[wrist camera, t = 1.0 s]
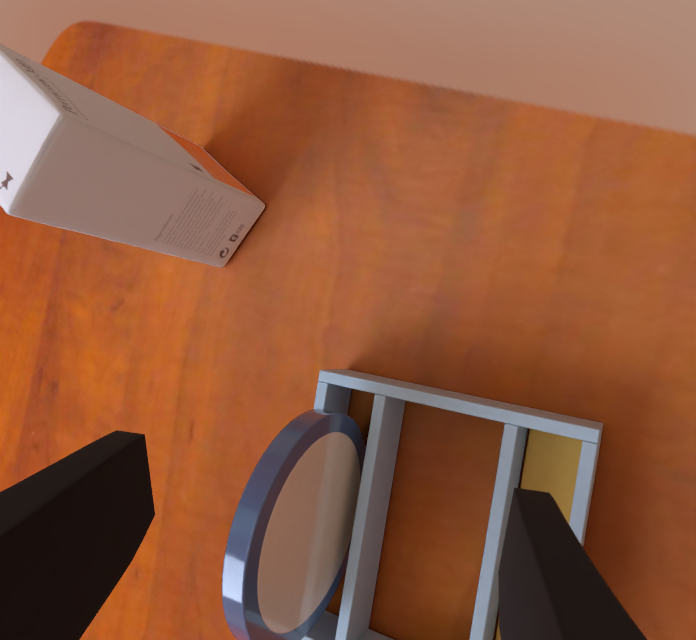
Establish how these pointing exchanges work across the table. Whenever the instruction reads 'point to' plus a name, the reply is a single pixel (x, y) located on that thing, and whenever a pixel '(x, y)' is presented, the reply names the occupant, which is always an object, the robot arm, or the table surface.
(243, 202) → the cosmetic box
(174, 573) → the table surface
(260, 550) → the plate
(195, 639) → the table surface
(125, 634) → the table surface
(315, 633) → the rack
